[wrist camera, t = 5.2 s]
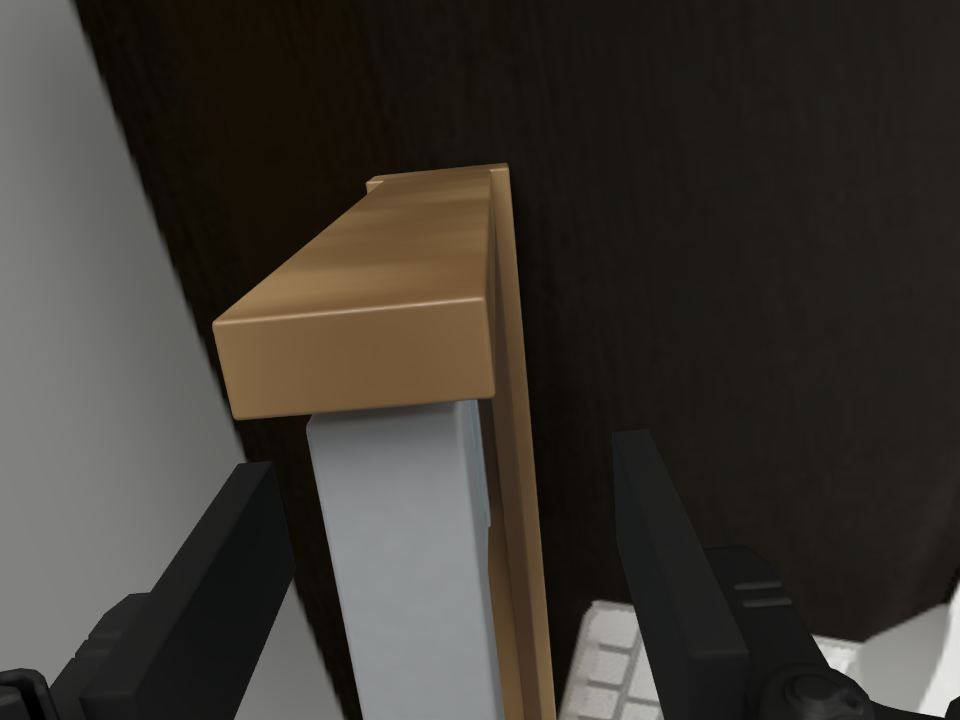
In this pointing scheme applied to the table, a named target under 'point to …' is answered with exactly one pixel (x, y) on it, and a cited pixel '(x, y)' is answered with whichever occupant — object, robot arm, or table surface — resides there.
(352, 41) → the table surface
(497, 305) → the brown wooden l-shape
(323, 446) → the grey rectangular block
